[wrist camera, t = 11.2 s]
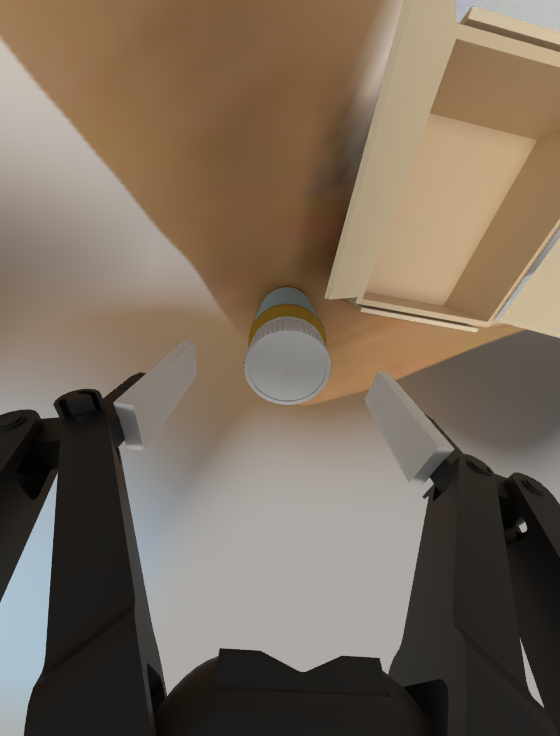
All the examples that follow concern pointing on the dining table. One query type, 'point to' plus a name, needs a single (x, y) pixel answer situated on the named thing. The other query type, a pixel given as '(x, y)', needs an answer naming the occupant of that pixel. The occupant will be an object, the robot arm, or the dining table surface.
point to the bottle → (287, 349)
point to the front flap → (393, 138)
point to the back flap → (539, 298)
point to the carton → (476, 181)
